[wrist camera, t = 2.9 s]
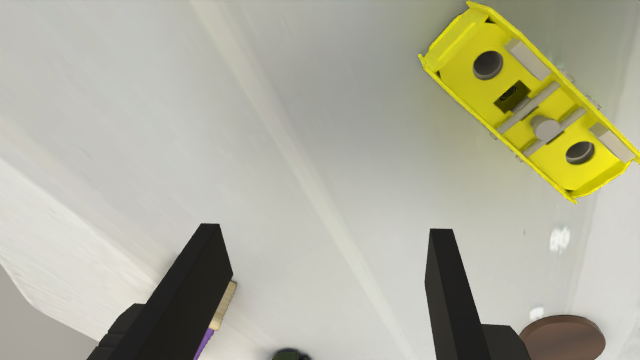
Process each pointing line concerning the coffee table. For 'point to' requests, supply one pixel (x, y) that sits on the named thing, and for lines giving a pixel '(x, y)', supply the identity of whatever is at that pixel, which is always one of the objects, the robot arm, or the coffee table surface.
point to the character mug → (287, 356)
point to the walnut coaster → (563, 339)
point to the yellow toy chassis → (527, 102)
